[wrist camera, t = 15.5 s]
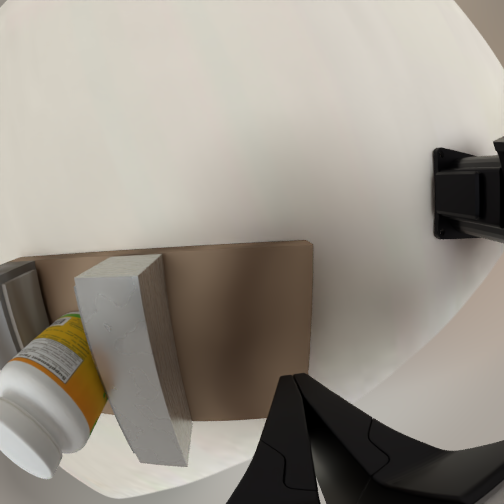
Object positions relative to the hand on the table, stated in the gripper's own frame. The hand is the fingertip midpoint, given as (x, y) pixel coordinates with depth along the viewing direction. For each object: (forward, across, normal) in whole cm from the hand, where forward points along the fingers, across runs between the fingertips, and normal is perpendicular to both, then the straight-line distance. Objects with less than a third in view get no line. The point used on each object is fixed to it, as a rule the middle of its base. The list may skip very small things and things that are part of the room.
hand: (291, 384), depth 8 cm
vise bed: (+8, +8, +2) cm, 11 cm away
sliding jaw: (+6, +7, +2) cm, 10 cm away
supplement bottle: (+7, +11, +2) cm, 14 cm away
